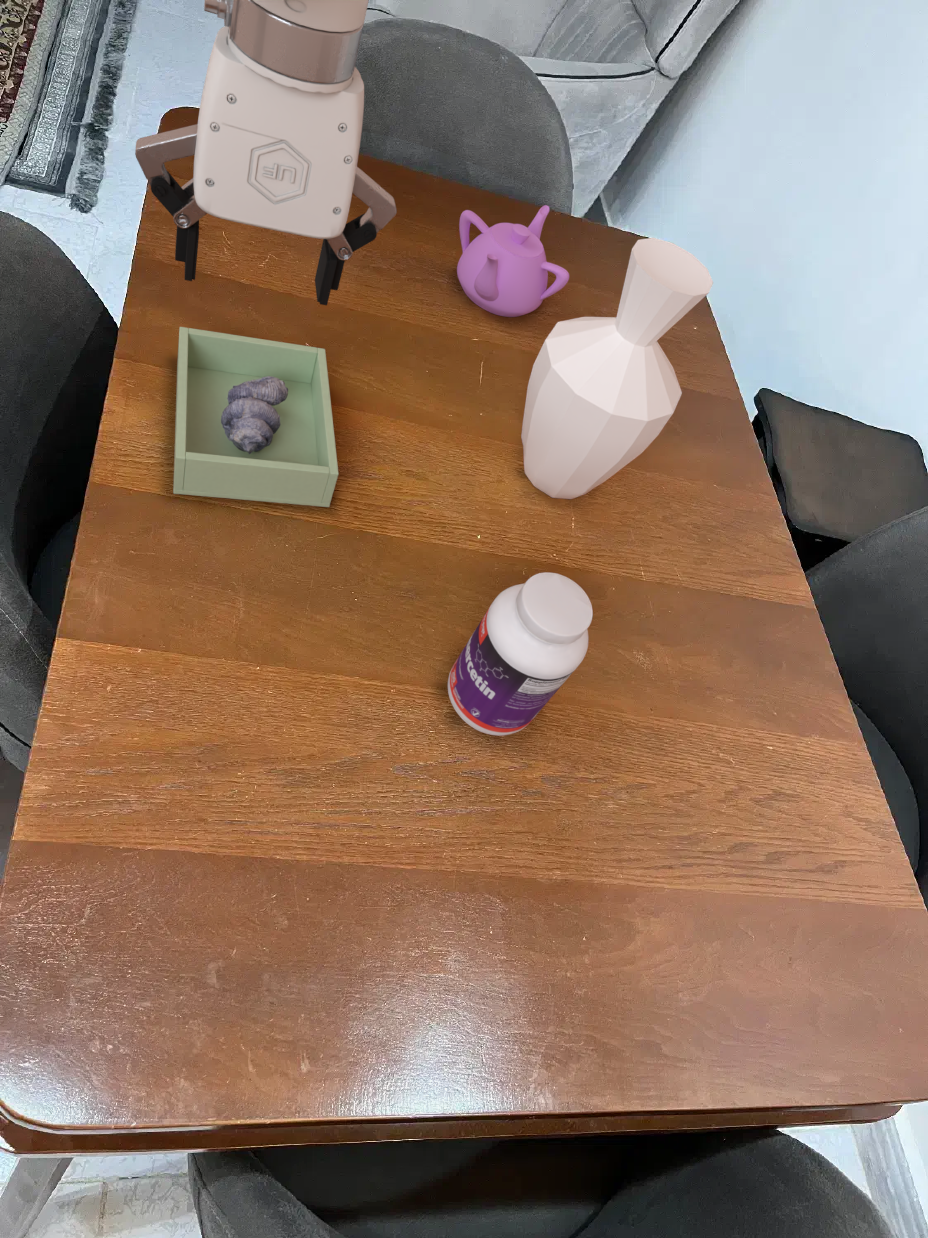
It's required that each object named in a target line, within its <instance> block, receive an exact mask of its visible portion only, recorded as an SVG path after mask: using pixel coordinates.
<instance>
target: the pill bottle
mask: <svg viewBox="0 0 928 1238" xmlns="http://www.w3.org/2000/svg"><path fill="white" fill-rule="evenodd" d="M593 613H594V612H593V605H592V603H591V600H590V597H589V596H588V594H587V593H586V592H585V590H584V589H583V588H582V587H581V586H580V585H579V584H578V583H577V582H575V580H573V579H572V578H571V579H570V578H569V577H567V576H565V575H562V574H560V573H557V572H551V571H550V572H545V571H544V572H539V573H535V574H534V575H532V576H531V577H529V578H528V579H527V580H526V581H525V582H524V583H520V584H515V585H512V586H510V587H507V588H505V589H503V590H502V591H501V592H500V593H499V594H498V595H497V596H496V597H495V598H494V599H493V600H492V603H491V604H490V605H489V607H488V609H487V610H486V612H485V613H484V615H483V617H482V618H481V620H480V622H479V623H478V625H477V627H476V628H475V629H474V631H473V632H472V634H471V636H470V638H469V639H468V641H467V643H466V644H465V646H464V647H463V649H462V650H461V652H460V653H459V655H458V657H457V659H456V660H455V661H454V663H453V665H452V666H451V669H450V671H449V675H448V679H447V693H448V697H449V700H450V703H451V705H452V708H453V709H454V711H455V712H456V713H457V715H458V716H459V717H460V718H461V720H462V721H463V722H465V724H467V725H468V726H470V727H471V728H473V729H474V730H476V731H477V732H480V733H484V734H486V735H491V736H498V737H499V736H509V735H512V734H515V733H518V732H520V731H522V730H523V729H525V728H526V727H528V726H529V724H531V722H532V721H533V720H534V719H535V718H536V716H538V714H539V713H540V711H542V709H543V708H544V707H545V706H546V705H547V703H548V702H549V701H550V700H551V699H552V698H553V696H555V694H556V693H557V692H558V690H559V689H560V688H561V687H562V686H563V684H565V682H566V681H567V680H568V679H569V678H570V677H571V675H572V674H573V673H574V672H575V671H576V669H577V668H579V666H580V665H581V664H582V662H583V660H584V658H585V657H586V655H587V651H588V648H589V630H588V629H589V627H590V625H591V624H592V620H593V616H594V615H593Z"/></svg>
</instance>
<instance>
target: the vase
mask: <svg viewBox="0 0 928 1238" xmlns="http://www.w3.org/2000/svg"><path fill="white" fill-rule="evenodd" d="M627 264H628V265H627V269H626V273H625V278H624V281H623V286H622V291H621V295H620V300H619V304H618V307H617V308H618V309H617V314H616V316H614V317H613V316H607V317H606V316H580V317H575V318H571V319H565V320H561V321H557V322H556V324H555V325H554V326H553V328H552V329H551V331H550V332H549V334H548V335H547V337H546V338H545V339H544V341H543V344H542V346H541V348H540V350H539V352H538V354H537V356H536V358H535V361H534V363H533V365H532V369H531V373H530V376H529V380H528V383H527V388H526V389H527V390H526V397H525V404H524V411H523V419H522V424H521V425H522V427H521V435H520V437H521V443H522V448H523V468H524V469H523V471H524V474H525V476H526V477H527V478H528V480H529V481H530V483H531V485H532V486H533V487H535V488H536V489H537V490H539V491H541V492H542V493H544V494H545V495H547V496H548V497H550V498H552V499H561V500H573V499H576V498H579V497H581V496H585V495H586V494H588V493H589V492H591V491H592V490H593V489H595V488H596V487H598V486H600V485H602V484H603V483H605V482H606V481H607V480H609V479H610V478H612V477H613V476H614V475H615V474H617V473H618V472H620V471H621V470H622V469H623V468H624V467H626V466H627V465H628V464H630V463H631V462H633V461H634V460H636V458H637V457H639V456H640V455H642V454H643V452H644V451H646V449H647V448H648V447H649V446H650V445H651V444H652V443H653V442H654V440H655V439H656V438H657V437H659V435H660V433H661V432H662V430H663V429H664V427H665V426H666V424H667V423H668V422H669V420H670V419H671V417H672V416H673V414H674V413H675V410H676V408H677V405H678V403H679V401H680V399H681V397H682V394H683V391H682V389H681V386H680V383H679V380H678V377H677V374H676V371H675V368H674V366H673V365H672V363H671V362H670V360H669V358H668V356H667V354H666V353H665V352H664V350H663V349H662V347H661V345H660V344H659V342H658V340H659V339H660V338H662V337H663V336H664V335H665V334H666V333H667V332H668V331H669V330H670V329H671V328H672V327H674V326H675V325H676V324H677V323H678V322H679V321H680V320H682V318H683V317H685V315H687V314H688V313H689V312H690V311H691V310H692V309H693V308H694V307H695V306H696V305H698V304H699V303H700V302H701V301H702V300H703V299H704V298H705V297H706V296H707V295H708V294H709V293H710V291H711V289H712V287H713V285H714V281H713V278H712V276H711V274H710V271H709V269H708V267H706V266H705V265H704V264H703V263H702V261H700V260H699V259H698V258H697V257H696V256H695V255H694V254H693V253H691V252H689V251H688V250H686V249H684V248H683V247H680V245H677V244H675V243H674V242H670V241H667V240H663V239H659V238H655V237H648V238H641V239H637V240H636V242H635V244H634V245H633V246H632V248H631V252H630V256H629V260H628V263H627Z"/></svg>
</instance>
